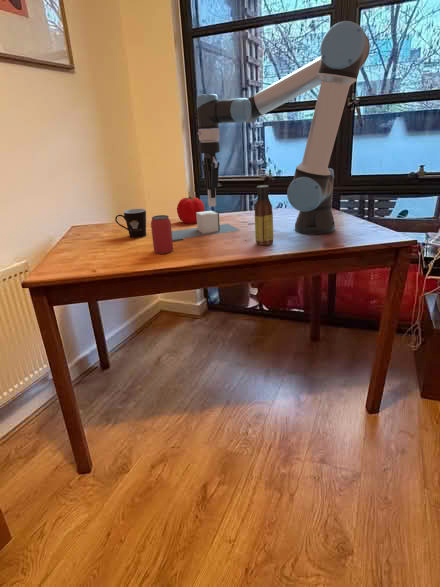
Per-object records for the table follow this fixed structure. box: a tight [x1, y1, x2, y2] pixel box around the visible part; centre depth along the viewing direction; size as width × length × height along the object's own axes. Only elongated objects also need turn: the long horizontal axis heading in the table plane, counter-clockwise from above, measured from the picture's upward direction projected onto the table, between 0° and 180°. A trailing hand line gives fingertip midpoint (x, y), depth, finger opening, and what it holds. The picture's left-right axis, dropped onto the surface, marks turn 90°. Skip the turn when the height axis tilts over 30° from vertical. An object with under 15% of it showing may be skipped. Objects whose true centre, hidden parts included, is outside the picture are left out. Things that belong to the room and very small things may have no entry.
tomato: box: [176, 196, 206, 225], centre depth 167 cm, size 12×13×12 cm
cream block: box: [196, 210, 221, 233], centre depth 151 cm, size 7×7×7 cm
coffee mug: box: [115, 208, 147, 239], centre depth 150 cm, size 12×9×10 cm
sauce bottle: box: [254, 184, 274, 247], centre depth 130 cm, size 7×6×20 cm
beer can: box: [150, 214, 174, 255], centre depth 129 cm, size 7×7×12 cm
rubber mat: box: [172, 223, 240, 243], centre depth 152 cm, size 13×28×1 cm, turn 112°
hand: (212, 205), depth 150 cm, fingers closed
